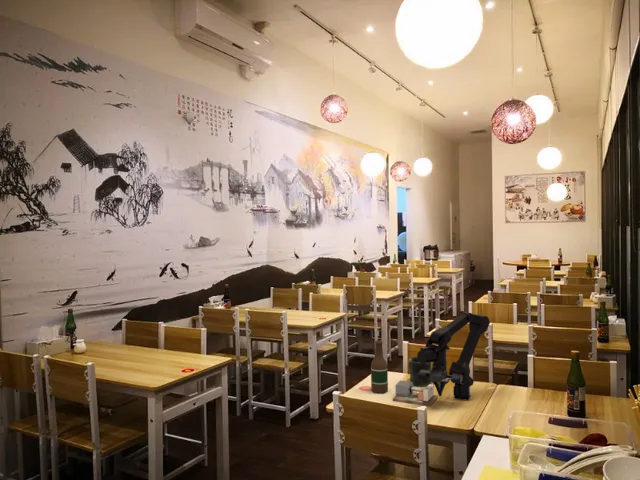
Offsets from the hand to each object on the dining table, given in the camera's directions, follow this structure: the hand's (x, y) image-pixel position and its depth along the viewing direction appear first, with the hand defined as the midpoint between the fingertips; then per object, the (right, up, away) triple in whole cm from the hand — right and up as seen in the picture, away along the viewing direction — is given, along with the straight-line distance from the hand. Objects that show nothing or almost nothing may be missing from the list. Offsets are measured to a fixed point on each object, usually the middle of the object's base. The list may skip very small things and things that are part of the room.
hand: (440, 396), depth 219 cm
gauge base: (-10, -3, +5) cm, 12 cm away
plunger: (-8, -2, +4) cm, 9 cm away
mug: (-4, -3, +29) cm, 29 cm away
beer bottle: (-24, -3, +17) cm, 30 cm away
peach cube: (-8, -2, +1) cm, 8 cm away
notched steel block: (-14, -2, +9) cm, 17 cm away
